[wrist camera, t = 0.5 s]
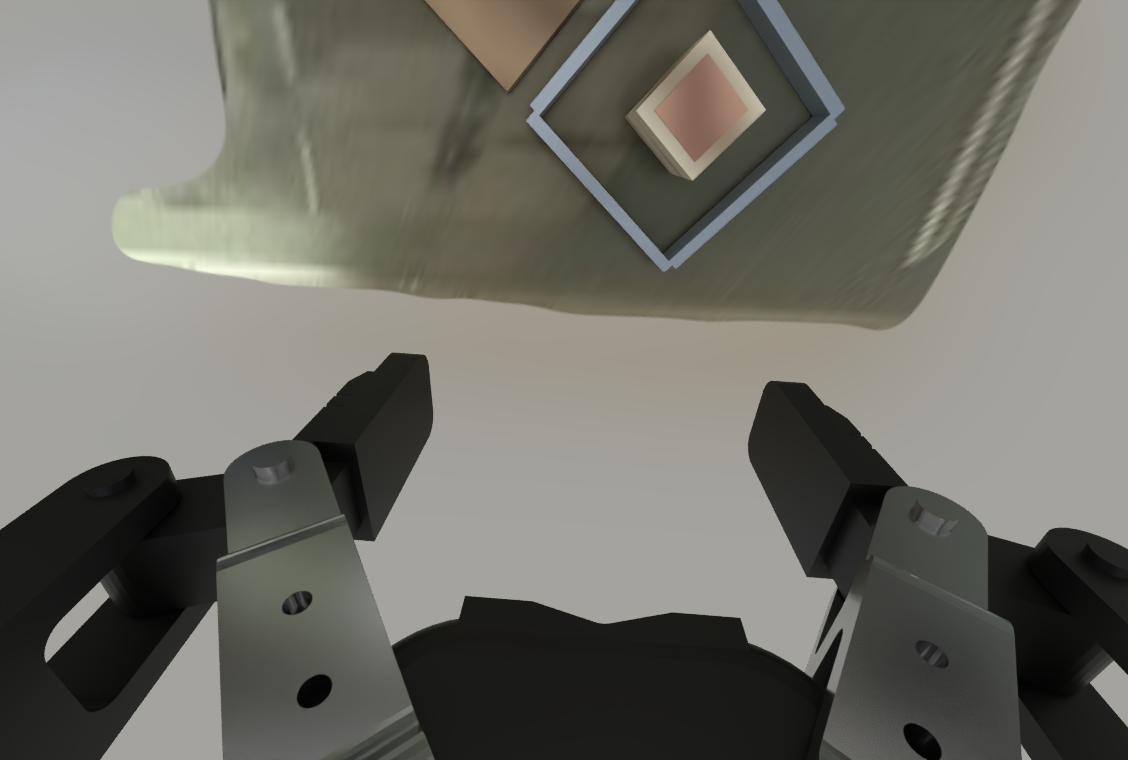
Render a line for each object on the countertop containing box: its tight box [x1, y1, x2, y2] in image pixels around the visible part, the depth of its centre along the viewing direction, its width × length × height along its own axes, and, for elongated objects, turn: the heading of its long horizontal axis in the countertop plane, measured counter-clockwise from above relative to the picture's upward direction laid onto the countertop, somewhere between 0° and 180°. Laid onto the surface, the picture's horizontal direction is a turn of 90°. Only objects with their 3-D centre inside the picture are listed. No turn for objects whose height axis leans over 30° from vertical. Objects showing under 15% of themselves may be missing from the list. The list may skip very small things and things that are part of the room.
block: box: [624, 31, 766, 181], centre depth 28 cm, size 5×5×7 cm
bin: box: [526, 0, 845, 272], centre depth 30 cm, size 15×15×2 cm
